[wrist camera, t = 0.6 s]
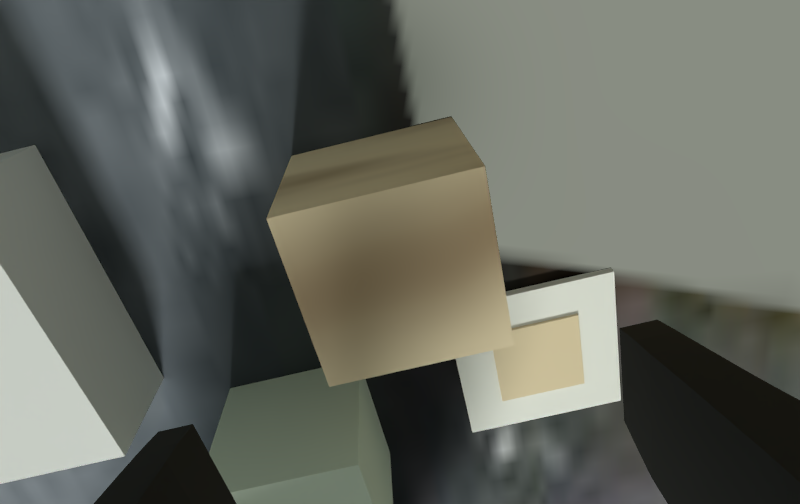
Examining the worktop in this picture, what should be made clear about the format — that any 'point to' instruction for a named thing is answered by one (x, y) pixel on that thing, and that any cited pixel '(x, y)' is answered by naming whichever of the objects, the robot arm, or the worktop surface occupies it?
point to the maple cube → (392, 251)
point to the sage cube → (302, 443)
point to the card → (548, 354)
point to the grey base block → (61, 336)
